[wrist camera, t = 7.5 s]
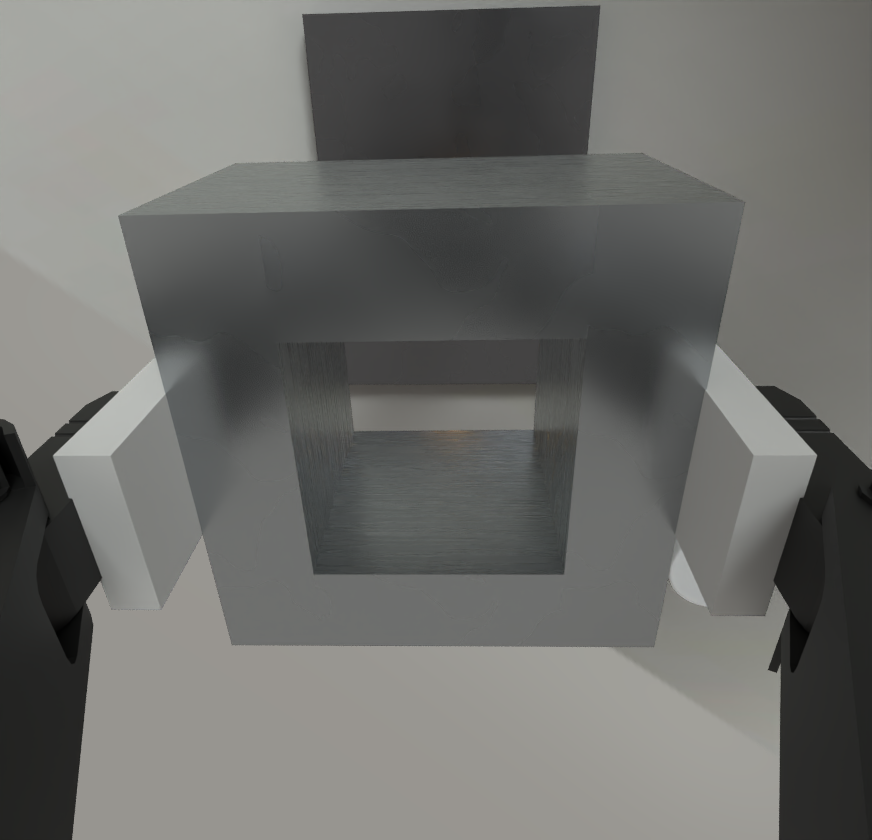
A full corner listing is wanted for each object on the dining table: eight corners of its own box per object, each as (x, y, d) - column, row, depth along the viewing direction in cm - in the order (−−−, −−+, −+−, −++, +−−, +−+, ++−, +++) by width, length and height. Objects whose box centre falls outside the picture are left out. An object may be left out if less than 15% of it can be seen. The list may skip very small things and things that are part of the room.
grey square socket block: (235, 163, 13) (117, 215, 8) (642, 152, 12) (745, 202, 8) (291, 491, 16) (231, 645, 12) (600, 489, 16) (654, 647, 12)
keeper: (308, 15, 22) (251, 0, 16) (594, 7, 22) (645, -13, 16) (345, 374, 29) (315, 457, 23) (563, 373, 29) (590, 457, 23)
